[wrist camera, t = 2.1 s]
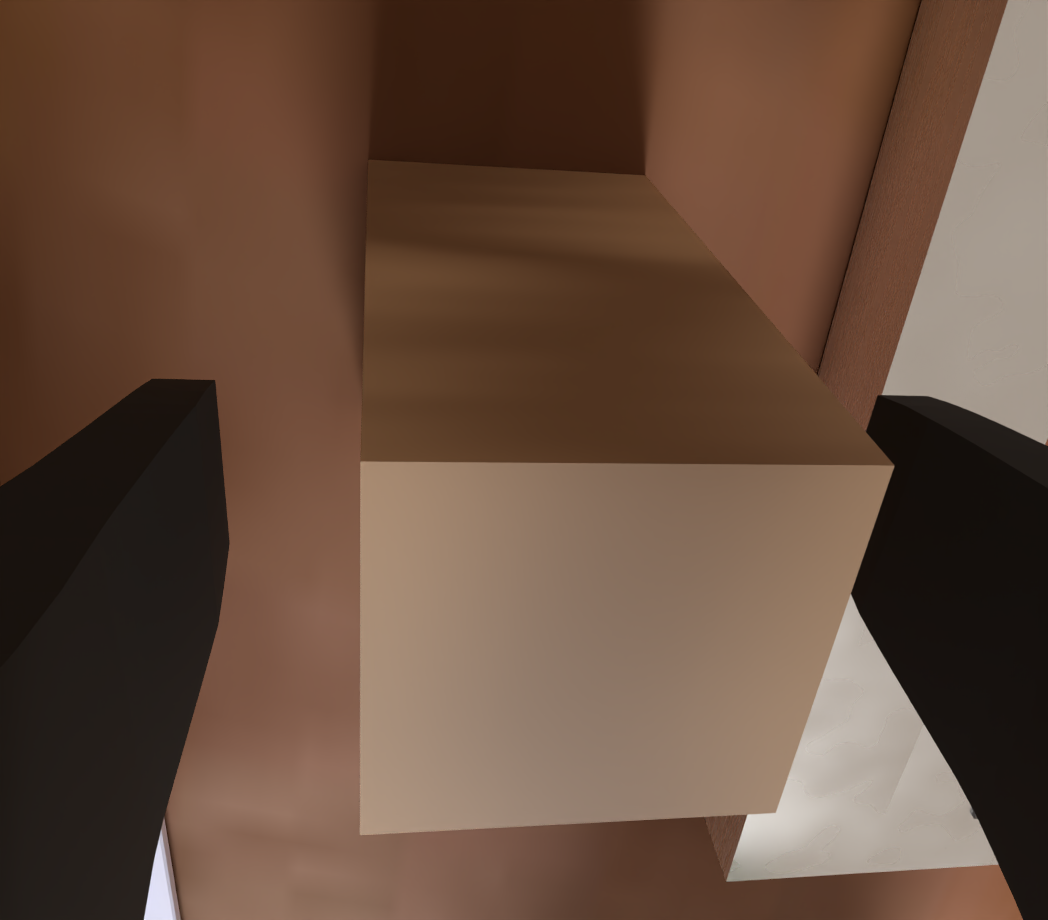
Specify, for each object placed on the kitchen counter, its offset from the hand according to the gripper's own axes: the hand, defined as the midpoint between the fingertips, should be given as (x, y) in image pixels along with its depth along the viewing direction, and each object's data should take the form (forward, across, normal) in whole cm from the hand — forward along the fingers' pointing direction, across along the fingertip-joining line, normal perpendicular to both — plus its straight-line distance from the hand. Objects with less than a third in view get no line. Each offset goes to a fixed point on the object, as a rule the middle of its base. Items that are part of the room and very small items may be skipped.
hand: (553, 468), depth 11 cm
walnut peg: (+5, 0, 0) cm, 5 cm away
